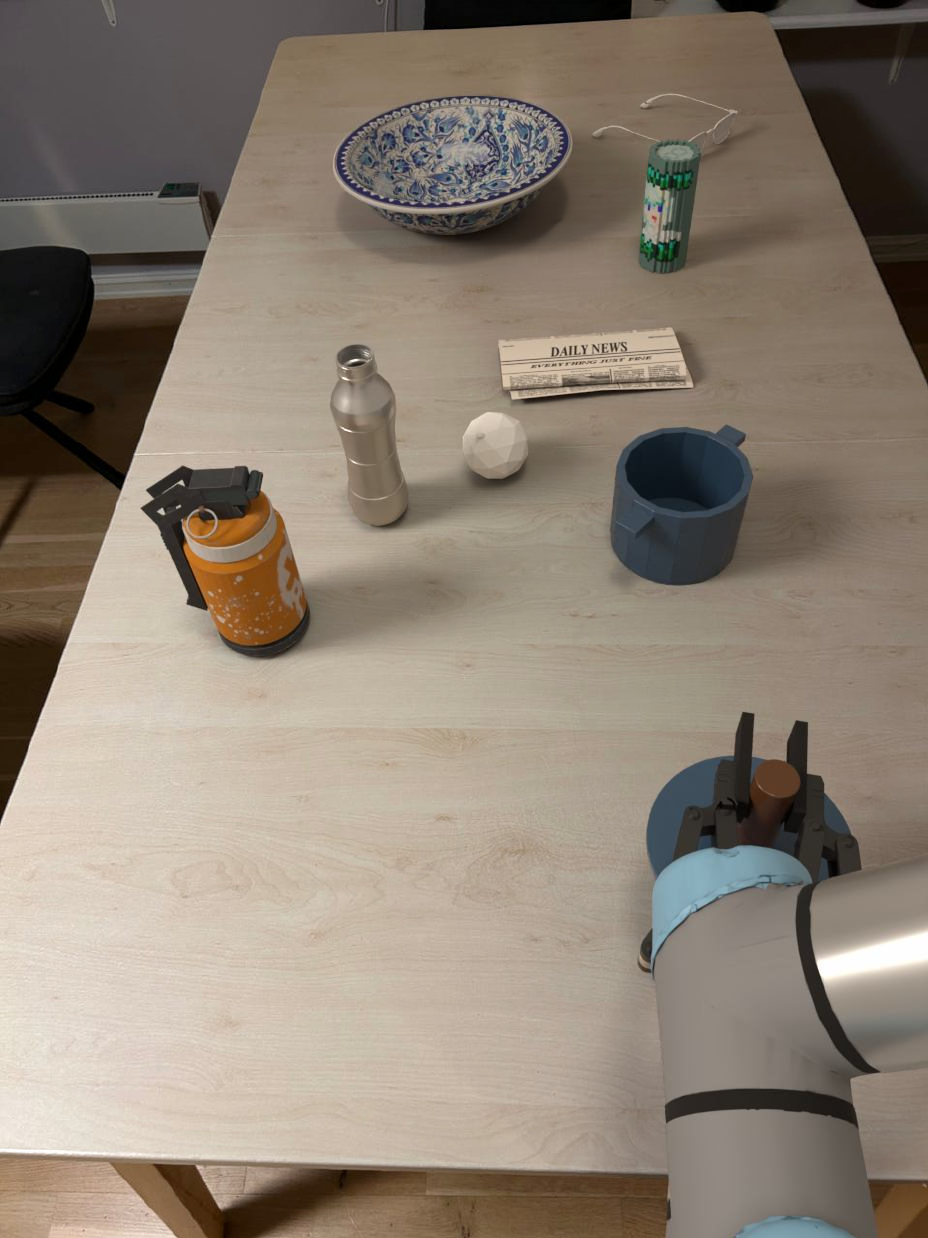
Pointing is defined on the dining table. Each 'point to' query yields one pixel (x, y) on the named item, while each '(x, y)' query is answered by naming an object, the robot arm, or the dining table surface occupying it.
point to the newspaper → (593, 363)
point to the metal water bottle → (368, 437)
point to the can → (668, 205)
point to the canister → (232, 556)
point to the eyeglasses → (698, 139)
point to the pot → (680, 503)
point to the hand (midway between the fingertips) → (770, 728)
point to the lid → (762, 819)
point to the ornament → (495, 445)
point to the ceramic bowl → (453, 161)
